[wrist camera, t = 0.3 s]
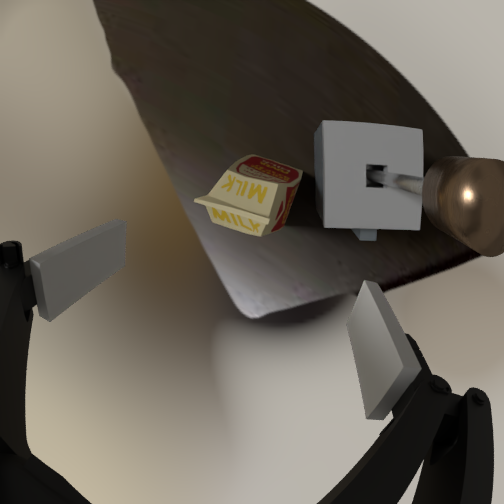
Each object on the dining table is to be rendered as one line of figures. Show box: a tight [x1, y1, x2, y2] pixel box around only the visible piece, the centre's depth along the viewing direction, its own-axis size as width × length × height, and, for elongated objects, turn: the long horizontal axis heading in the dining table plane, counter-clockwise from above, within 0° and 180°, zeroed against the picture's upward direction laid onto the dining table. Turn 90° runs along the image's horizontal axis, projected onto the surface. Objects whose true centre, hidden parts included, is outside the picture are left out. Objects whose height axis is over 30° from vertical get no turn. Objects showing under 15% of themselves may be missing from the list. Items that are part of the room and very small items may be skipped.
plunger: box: [366, 157, 504, 257], centre depth 19 cm, size 8×8×24 cm
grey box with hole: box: [314, 121, 423, 241], centre depth 32 cm, size 13×11×14 cm
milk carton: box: [194, 154, 303, 236], centre depth 33 cm, size 9×9×20 cm
